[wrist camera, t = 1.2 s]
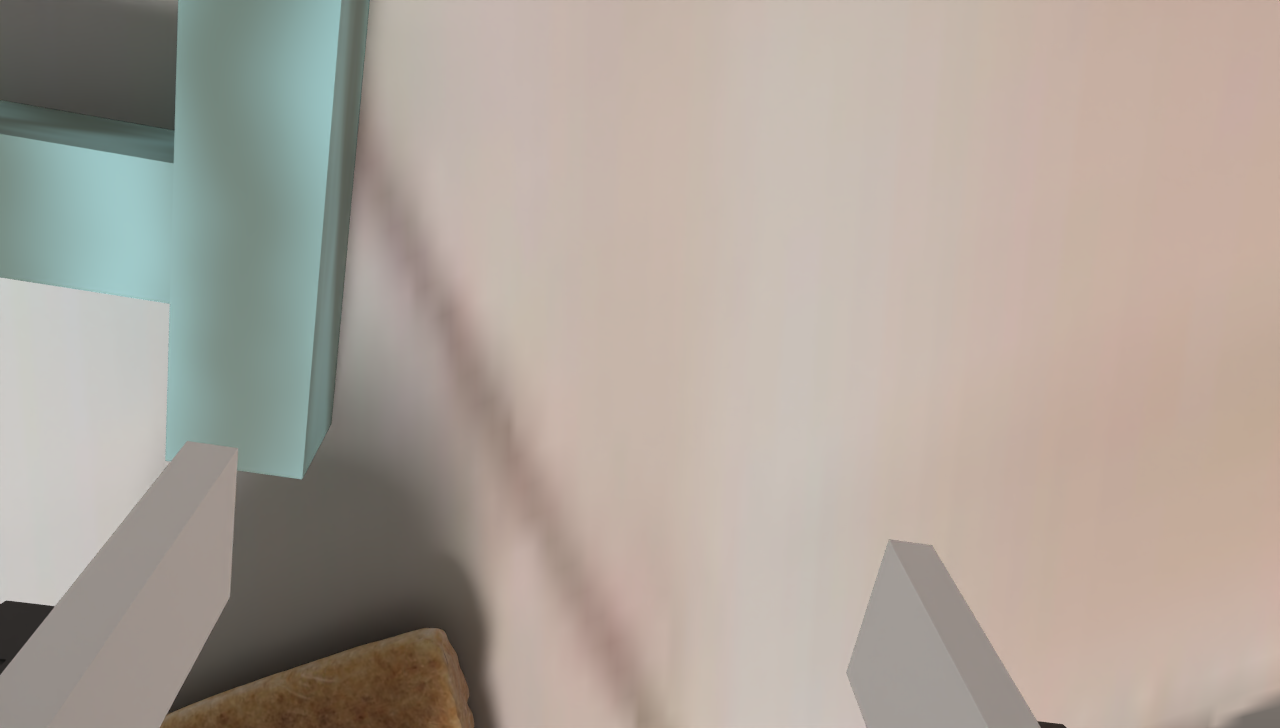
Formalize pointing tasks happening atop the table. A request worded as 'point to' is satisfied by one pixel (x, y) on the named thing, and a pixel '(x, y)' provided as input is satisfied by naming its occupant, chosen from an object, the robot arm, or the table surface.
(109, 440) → the table surface
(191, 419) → the t block
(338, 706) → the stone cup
